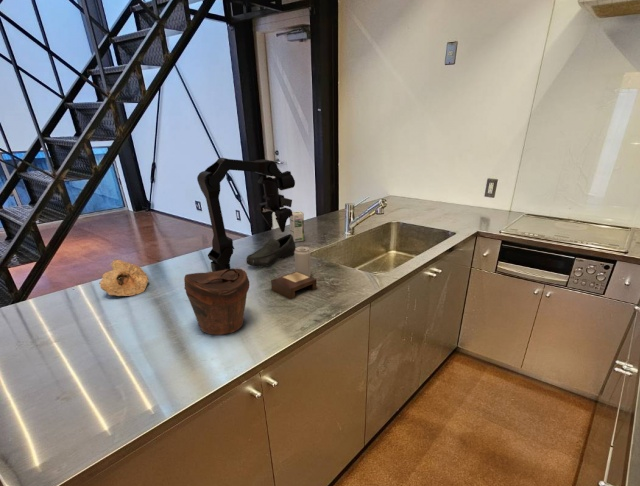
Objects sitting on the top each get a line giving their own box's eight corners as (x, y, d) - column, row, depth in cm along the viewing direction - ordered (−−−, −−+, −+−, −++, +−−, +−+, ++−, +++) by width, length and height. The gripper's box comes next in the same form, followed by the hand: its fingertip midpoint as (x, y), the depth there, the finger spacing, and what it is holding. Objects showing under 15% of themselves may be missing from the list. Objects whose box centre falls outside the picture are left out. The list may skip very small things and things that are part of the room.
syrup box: (294, 242, 196) (293, 214, 189) (290, 239, 200) (289, 211, 193) (304, 240, 198) (303, 213, 191) (299, 237, 203) (299, 210, 196)
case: (263, 314, 125) (259, 263, 116) (233, 345, 108) (225, 288, 99) (215, 307, 129) (208, 257, 120) (179, 335, 112) (167, 279, 103)
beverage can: (296, 280, 151) (295, 251, 145) (293, 274, 156) (293, 246, 151) (312, 279, 153) (311, 250, 147) (309, 273, 158) (308, 245, 152)
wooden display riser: (290, 298, 136) (290, 288, 134) (271, 290, 142) (270, 279, 140) (316, 288, 144) (316, 278, 142) (297, 280, 151) (296, 270, 149)
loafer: (241, 268, 161) (239, 245, 156) (281, 250, 184) (279, 229, 179) (260, 273, 157) (259, 249, 152) (298, 253, 180) (298, 232, 175)
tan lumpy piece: (143, 310, 139) (143, 296, 134) (98, 305, 134) (96, 290, 128) (151, 277, 150) (151, 262, 145) (109, 271, 145) (108, 256, 140)
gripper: (300, 192, 152) (304, 229, 161) (275, 185, 165) (280, 220, 173) (277, 198, 146) (283, 236, 155) (253, 190, 159) (259, 227, 167)
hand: (277, 229), depth 163 cm, fingers open, 9 cm apart
